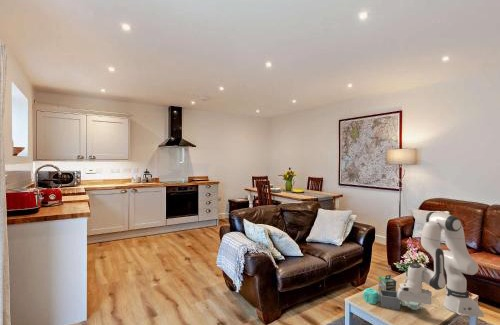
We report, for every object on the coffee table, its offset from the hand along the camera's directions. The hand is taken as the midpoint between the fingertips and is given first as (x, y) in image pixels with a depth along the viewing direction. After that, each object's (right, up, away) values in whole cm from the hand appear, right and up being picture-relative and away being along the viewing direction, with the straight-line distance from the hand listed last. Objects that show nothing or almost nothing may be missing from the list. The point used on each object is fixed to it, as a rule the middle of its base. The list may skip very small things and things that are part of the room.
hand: (413, 307), depth 186 cm
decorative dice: (-22, -4, +15) cm, 27 cm away
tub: (-11, -4, +11) cm, 16 cm away
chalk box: (-4, -3, +28) cm, 28 cm away
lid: (+1, -1, +5) cm, 5 cm away
